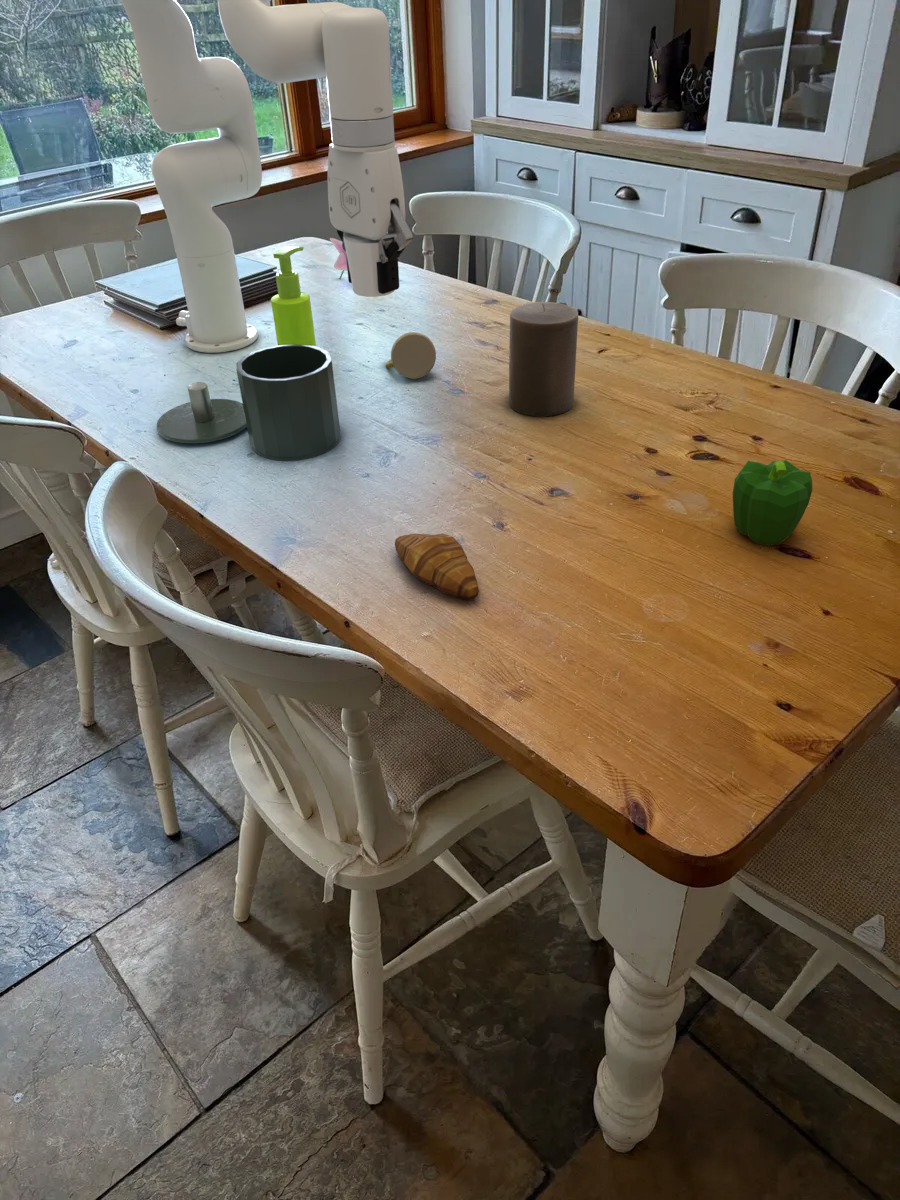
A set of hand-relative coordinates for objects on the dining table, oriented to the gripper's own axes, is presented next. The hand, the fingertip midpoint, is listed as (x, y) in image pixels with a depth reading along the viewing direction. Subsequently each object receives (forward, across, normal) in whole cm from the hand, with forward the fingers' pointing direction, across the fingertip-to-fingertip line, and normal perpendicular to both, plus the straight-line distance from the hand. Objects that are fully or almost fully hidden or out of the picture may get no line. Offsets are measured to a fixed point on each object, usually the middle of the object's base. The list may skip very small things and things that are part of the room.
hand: (373, 284), depth 115 cm
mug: (+20, -11, +16) cm, 28 cm away
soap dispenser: (+20, -22, +2) cm, 30 cm away
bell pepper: (+19, +55, +9) cm, 59 cm away
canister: (+20, -5, -12) cm, 24 cm away
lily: (+21, -53, +40) cm, 69 cm away
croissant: (+19, +33, -22) cm, 44 cm away
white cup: (+1, 0, 0) cm, 1 cm away
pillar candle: (+20, +13, +20) cm, 31 cm away
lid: (+19, -19, -18) cm, 33 cm away
